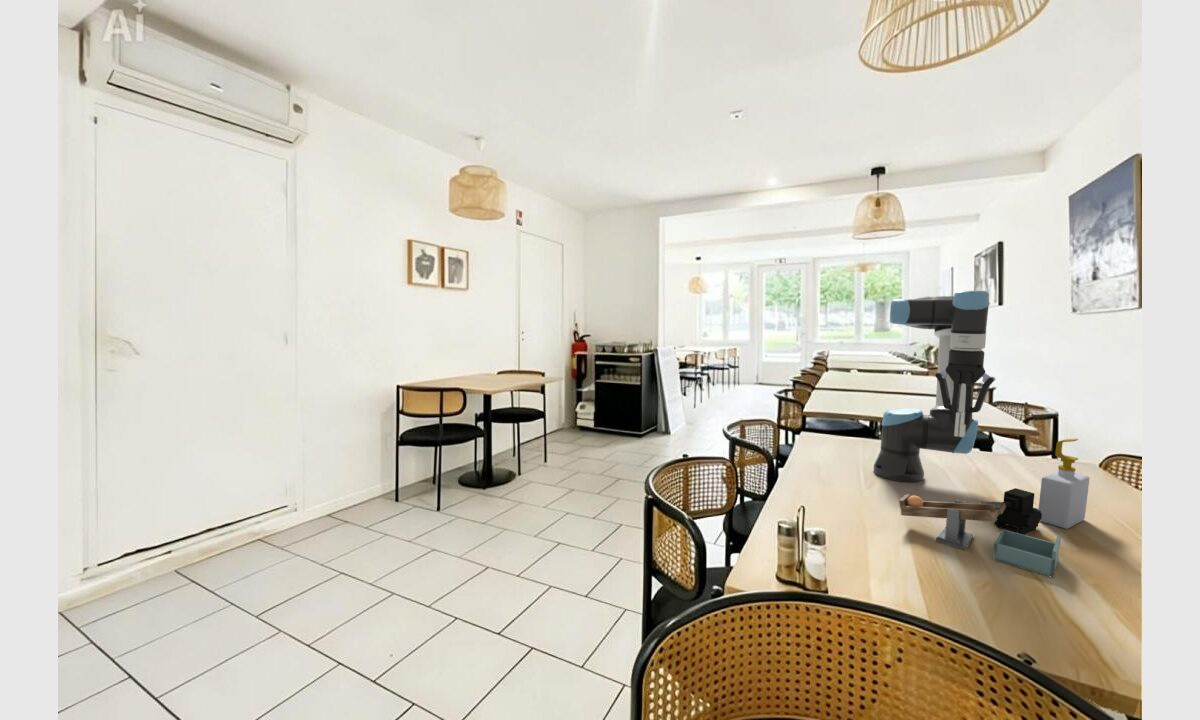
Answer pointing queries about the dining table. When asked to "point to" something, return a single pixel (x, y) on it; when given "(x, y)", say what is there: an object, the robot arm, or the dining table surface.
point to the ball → (915, 501)
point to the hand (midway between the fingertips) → (959, 435)
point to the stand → (955, 530)
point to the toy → (1019, 511)
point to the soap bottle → (1063, 493)
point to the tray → (1027, 552)
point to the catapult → (967, 510)
